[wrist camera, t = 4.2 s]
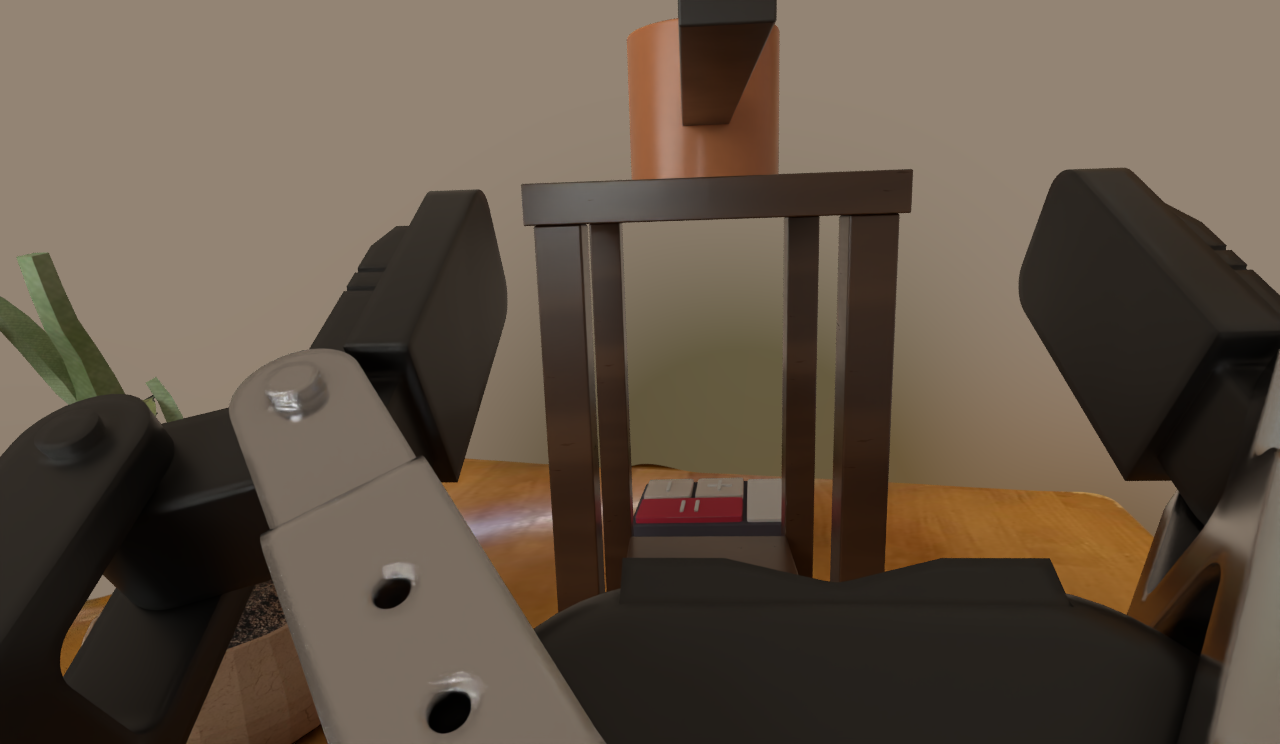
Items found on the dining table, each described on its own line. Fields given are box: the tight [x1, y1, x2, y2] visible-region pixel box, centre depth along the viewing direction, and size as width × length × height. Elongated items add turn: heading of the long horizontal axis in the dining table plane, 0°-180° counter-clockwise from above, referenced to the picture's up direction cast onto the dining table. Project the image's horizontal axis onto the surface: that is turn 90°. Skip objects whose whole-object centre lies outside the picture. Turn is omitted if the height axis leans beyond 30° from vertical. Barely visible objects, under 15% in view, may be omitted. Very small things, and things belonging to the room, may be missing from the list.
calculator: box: [633, 478, 782, 537], centre depth 70 cm, size 11×4×15 cm
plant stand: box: [521, 169, 913, 613], centre depth 37 cm, size 18×14×32 cm
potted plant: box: [0, 253, 321, 744], centre depth 41 cm, size 22×18×30 cm
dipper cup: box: [627, 0, 779, 180], centre depth 28 cm, size 25×8×8 cm, turn 176°
